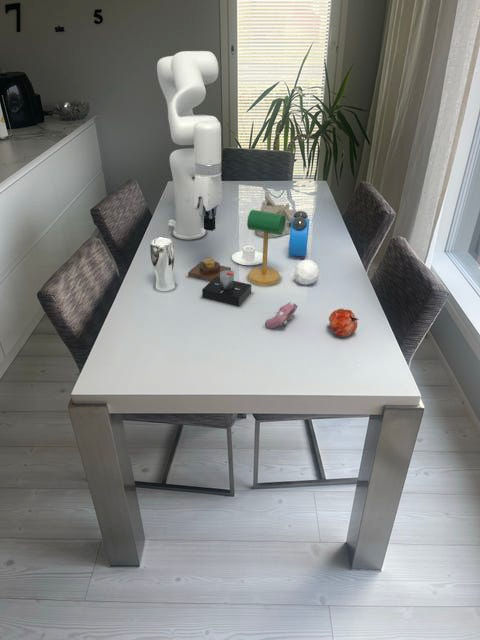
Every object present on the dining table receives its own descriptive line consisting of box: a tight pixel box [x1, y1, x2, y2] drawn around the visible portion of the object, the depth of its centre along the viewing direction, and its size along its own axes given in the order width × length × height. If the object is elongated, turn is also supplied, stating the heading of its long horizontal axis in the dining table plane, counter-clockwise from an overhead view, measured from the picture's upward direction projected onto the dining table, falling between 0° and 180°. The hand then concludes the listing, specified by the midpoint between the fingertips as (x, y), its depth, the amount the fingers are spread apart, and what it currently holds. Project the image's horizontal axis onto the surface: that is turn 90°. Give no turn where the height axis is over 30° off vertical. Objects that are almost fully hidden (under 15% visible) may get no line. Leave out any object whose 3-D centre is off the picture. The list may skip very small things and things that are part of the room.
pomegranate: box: [328, 308, 360, 338], centre depth 121 cm, size 7×7×10 cm
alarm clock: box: [288, 209, 310, 260], centre depth 159 cm, size 13×6×15 cm, turn 170°
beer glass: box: [149, 236, 176, 292], centre depth 139 cm, size 7×7×15 cm
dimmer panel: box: [201, 277, 252, 307], centre depth 137 cm, size 12×9×3 cm
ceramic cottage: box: [255, 190, 297, 239], centre depth 179 cm, size 16×16×15 cm
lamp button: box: [203, 258, 216, 268], centre depth 148 cm, size 4×4×2 cm
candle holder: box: [231, 245, 263, 266], centre depth 158 cm, size 12×12×4 cm
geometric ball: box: [293, 259, 320, 286], centre depth 144 cm, size 8×8×8 cm
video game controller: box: [264, 301, 299, 329], centre depth 125 cm, size 10×5×7 cm, turn 148°
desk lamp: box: [246, 209, 286, 287], centre depth 142 cm, size 10×10×22 cm
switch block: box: [187, 260, 232, 283], centre depth 149 cm, size 11×9×4 cm
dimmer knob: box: [220, 270, 235, 290], centre depth 135 cm, size 4×4×5 cm
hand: (209, 229), depth 140 cm, fingers closed
